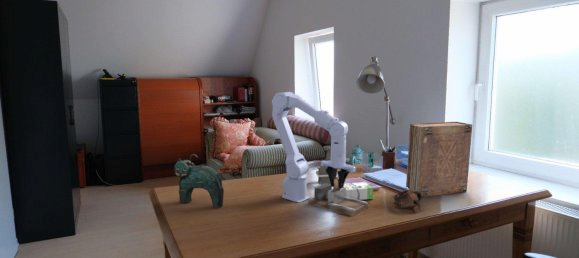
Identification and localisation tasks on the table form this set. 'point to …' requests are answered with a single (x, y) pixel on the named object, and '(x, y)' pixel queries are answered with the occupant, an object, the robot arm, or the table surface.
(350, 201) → the base
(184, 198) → the ceramic cat
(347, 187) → the ink box
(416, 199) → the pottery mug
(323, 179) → the architectural model
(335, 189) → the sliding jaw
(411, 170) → the book
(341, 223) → the table surface
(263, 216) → the table surface
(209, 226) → the table surface
